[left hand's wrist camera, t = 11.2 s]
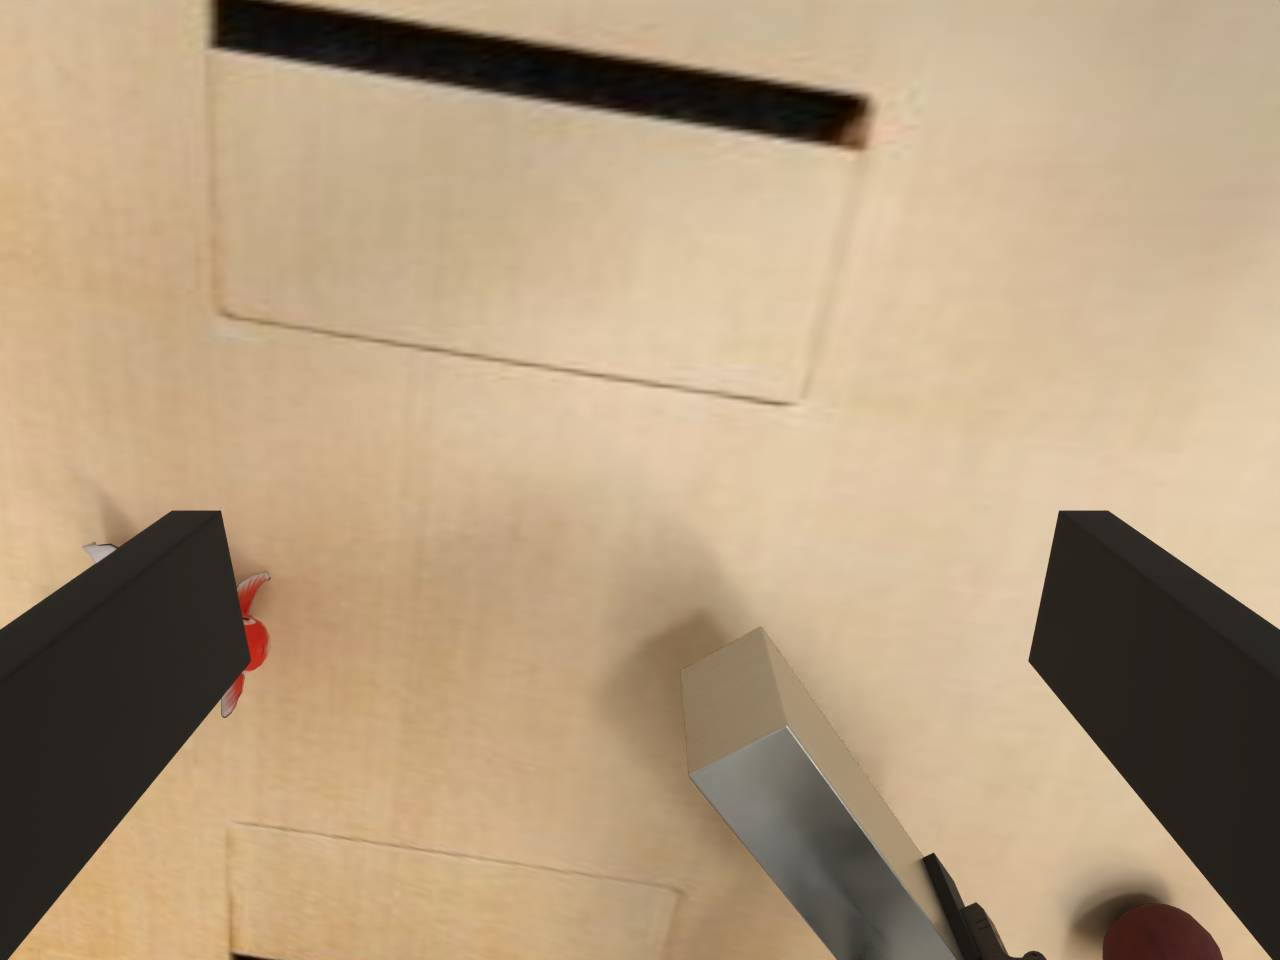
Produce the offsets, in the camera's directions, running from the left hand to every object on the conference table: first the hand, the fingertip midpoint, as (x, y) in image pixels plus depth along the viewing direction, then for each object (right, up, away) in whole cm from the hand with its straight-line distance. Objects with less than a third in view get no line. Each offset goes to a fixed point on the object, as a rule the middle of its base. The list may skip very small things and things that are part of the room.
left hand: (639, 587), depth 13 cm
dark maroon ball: (+36, -30, +45) cm, 65 cm away
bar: (+11, -17, +33) cm, 38 cm away
